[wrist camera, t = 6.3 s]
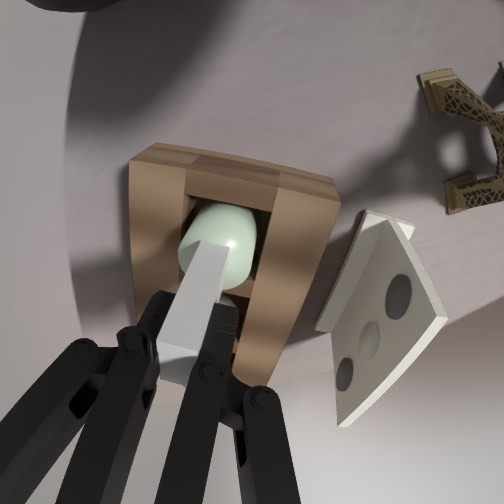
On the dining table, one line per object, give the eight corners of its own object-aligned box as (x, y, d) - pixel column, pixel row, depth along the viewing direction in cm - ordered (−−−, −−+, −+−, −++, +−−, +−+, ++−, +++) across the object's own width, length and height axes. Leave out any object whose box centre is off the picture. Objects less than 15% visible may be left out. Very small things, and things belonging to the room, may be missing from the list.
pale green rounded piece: (204, 184, 19) (179, 221, 15) (265, 197, 19) (257, 237, 15) (198, 236, 21) (176, 281, 17) (253, 248, 21) (244, 296, 17)
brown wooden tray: (156, 142, 19) (129, 159, 15) (332, 178, 19) (341, 203, 15) (156, 339, 30) (144, 368, 27) (264, 364, 31) (261, 395, 27)
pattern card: (365, 209, 20) (410, 311, 11) (412, 223, 20) (469, 321, 11) (314, 325, 26) (316, 425, 18) (353, 332, 26) (365, 427, 18)
